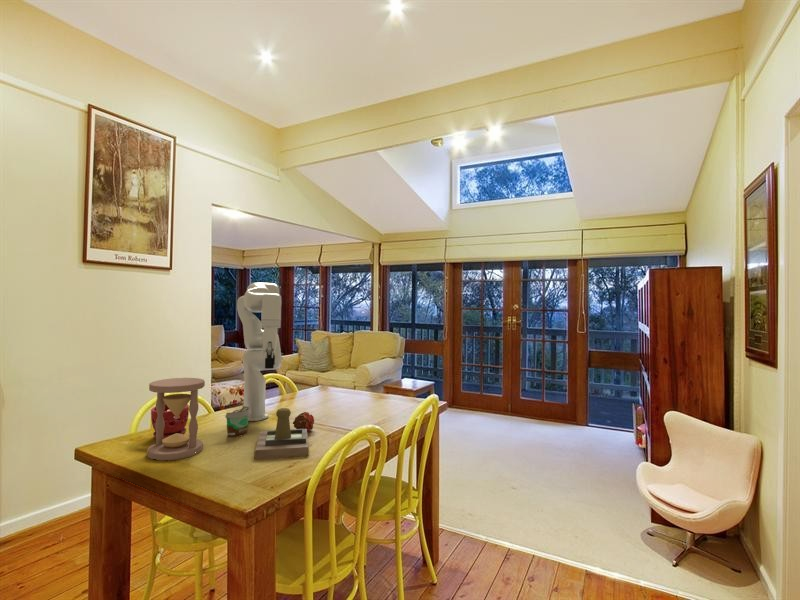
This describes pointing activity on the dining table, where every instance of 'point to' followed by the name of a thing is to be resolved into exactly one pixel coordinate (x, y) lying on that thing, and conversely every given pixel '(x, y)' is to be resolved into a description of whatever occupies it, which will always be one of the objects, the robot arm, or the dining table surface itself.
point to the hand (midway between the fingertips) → (269, 366)
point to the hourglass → (176, 443)
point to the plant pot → (171, 421)
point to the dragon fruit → (304, 421)
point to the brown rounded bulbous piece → (283, 424)
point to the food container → (237, 422)
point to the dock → (282, 444)
